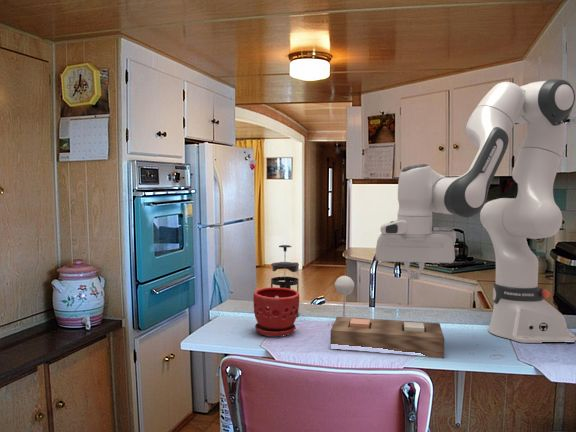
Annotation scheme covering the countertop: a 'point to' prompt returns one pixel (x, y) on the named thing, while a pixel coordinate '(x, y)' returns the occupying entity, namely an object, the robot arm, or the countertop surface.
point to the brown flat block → (390, 336)
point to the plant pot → (275, 310)
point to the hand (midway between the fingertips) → (414, 278)
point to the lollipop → (344, 288)
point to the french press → (287, 280)
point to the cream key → (413, 327)
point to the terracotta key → (360, 323)
